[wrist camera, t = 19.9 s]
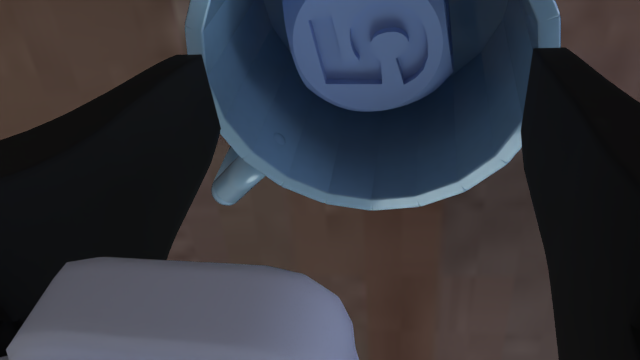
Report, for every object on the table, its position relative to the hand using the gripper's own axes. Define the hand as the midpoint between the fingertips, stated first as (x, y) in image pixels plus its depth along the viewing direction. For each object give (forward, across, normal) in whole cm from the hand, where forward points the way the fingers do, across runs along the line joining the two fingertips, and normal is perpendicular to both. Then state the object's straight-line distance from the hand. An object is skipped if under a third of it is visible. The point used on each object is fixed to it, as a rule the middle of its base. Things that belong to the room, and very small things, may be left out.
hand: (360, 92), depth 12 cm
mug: (+7, +1, +1) cm, 7 cm away
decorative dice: (+6, 0, 0) cm, 6 cm away
